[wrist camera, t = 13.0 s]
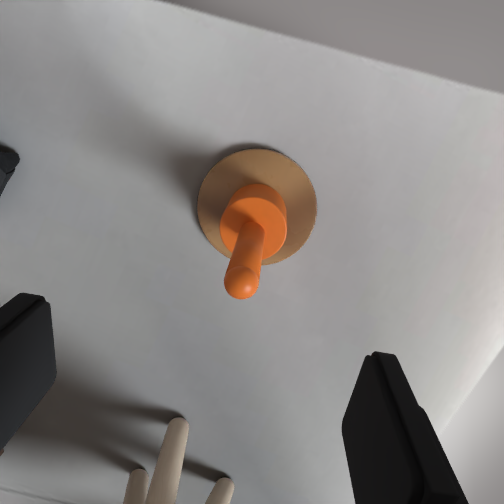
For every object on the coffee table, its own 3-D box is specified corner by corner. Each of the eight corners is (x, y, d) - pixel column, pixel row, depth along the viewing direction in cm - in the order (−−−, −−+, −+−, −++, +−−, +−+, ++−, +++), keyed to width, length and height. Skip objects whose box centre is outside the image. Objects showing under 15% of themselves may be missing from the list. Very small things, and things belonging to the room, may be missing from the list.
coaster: (179, 174, 27) (177, 175, 26) (294, 128, 25) (294, 129, 24) (225, 276, 30) (224, 279, 29) (331, 242, 28) (332, 245, 27)
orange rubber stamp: (231, 178, 26) (194, 235, 15) (291, 188, 26) (299, 253, 15) (224, 234, 28) (186, 323, 17) (280, 244, 28) (279, 339, 16)
